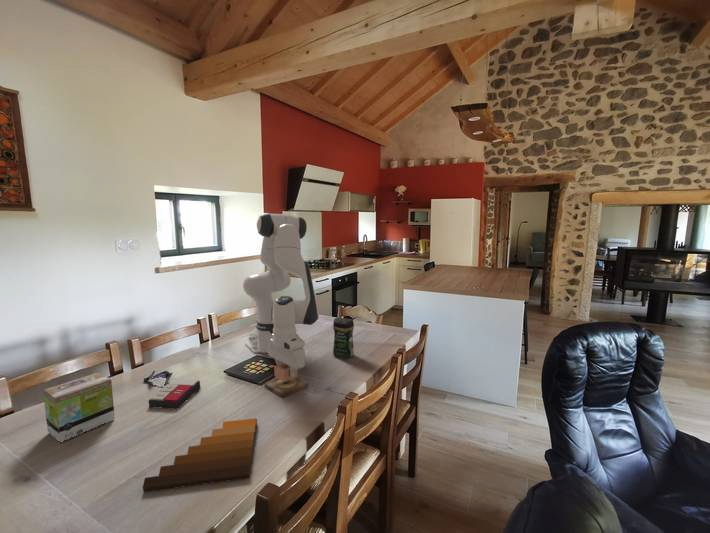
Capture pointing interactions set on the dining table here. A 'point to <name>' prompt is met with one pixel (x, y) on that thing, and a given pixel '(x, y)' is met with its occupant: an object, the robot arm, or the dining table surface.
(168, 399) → the black and red box
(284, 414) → the dining table surface
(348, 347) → the coffee jar
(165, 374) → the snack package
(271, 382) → the post stand
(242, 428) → the pan flute
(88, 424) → the tea box
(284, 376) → the collar
